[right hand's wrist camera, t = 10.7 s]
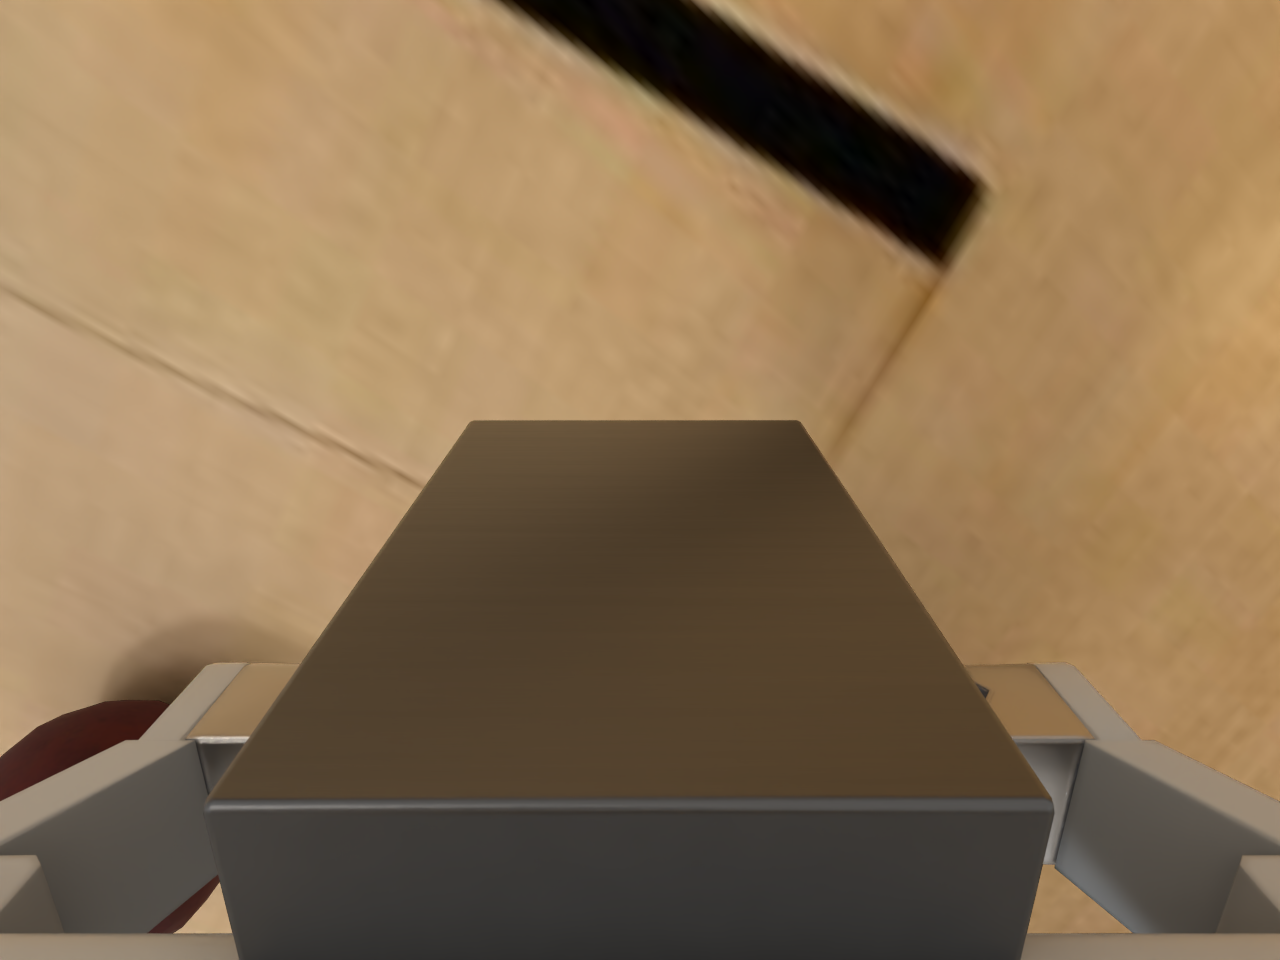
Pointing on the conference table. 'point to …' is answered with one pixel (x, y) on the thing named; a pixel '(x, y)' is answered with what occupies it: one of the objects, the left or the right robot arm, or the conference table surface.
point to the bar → (630, 727)
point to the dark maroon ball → (79, 741)
